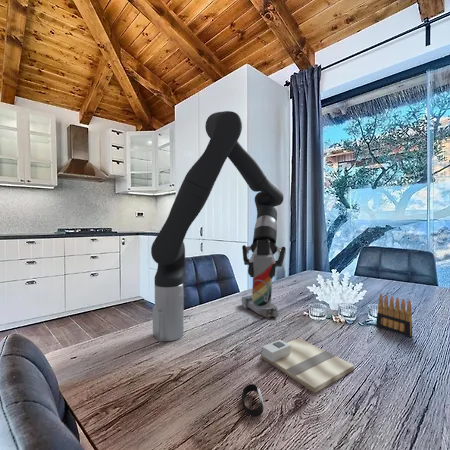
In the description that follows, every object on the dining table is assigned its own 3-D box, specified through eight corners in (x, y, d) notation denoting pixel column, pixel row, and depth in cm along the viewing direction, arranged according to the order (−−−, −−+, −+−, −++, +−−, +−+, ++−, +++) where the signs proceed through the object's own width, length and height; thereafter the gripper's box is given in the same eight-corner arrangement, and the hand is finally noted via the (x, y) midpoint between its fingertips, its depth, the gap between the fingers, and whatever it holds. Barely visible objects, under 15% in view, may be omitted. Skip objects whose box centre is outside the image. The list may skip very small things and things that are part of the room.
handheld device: (267, 322, 100) (267, 310, 100) (238, 306, 117) (238, 295, 117) (287, 317, 105) (287, 305, 104) (256, 302, 122) (256, 292, 122)
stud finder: (272, 361, 71) (272, 351, 71) (262, 355, 74) (262, 345, 74) (290, 354, 75) (290, 344, 75) (279, 347, 78) (280, 338, 78)
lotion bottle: (259, 309, 77) (261, 240, 76) (248, 303, 82) (250, 238, 81) (274, 306, 80) (277, 239, 79) (263, 300, 85) (265, 237, 84)
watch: (268, 419, 53) (268, 401, 53) (244, 420, 53) (244, 403, 53) (259, 393, 61) (259, 377, 61) (239, 394, 61) (239, 378, 60)
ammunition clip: (412, 336, 89) (413, 300, 88) (410, 337, 87) (411, 301, 87) (378, 325, 97) (379, 292, 97) (375, 326, 96) (377, 293, 95)
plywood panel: (314, 393, 61) (314, 387, 61) (260, 357, 75) (260, 352, 75) (354, 369, 70) (354, 364, 70) (299, 341, 84) (299, 337, 84)
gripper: (287, 240, 91) (286, 284, 80) (245, 238, 94) (238, 281, 83) (287, 225, 85) (286, 271, 74) (242, 224, 89) (235, 268, 78)
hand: (261, 276), depth 79 cm, fingers closed on lotion bottle, 5 cm apart
